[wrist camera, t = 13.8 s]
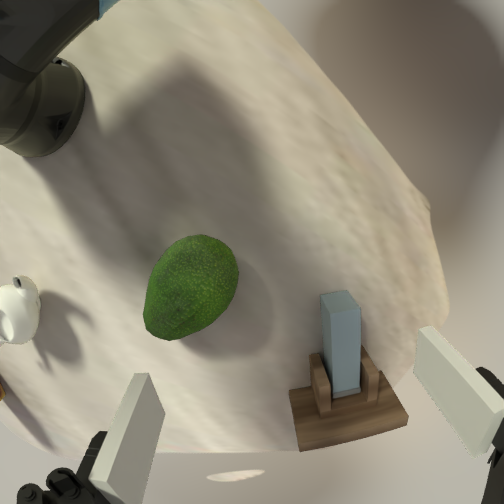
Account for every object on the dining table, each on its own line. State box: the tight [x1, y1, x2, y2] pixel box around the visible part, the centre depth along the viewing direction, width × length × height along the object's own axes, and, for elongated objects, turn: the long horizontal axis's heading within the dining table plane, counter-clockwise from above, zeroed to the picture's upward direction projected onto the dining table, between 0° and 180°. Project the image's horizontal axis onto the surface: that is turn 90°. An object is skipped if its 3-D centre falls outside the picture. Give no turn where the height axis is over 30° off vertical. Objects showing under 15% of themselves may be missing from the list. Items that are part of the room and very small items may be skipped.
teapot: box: [0, 275, 41, 346], centre depth 39 cm, size 10×20×9 cm, turn 138°
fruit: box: [143, 235, 239, 341], centre depth 38 cm, size 15×10×10 cm, turn 138°
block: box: [320, 290, 361, 399], centre depth 43 cm, size 14×4×6 cm, turn 9°
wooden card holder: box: [289, 344, 409, 452], centre depth 42 cm, size 8×16×12 cm, turn 99°
